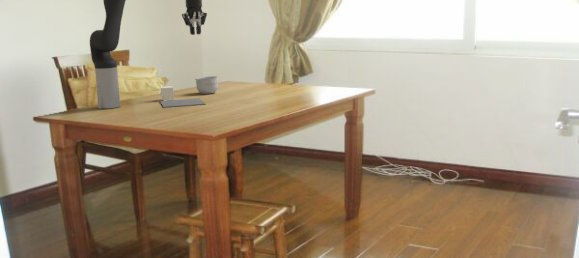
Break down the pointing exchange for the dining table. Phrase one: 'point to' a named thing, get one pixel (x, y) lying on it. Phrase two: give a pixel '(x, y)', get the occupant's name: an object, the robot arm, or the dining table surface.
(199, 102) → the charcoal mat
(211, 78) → the teacup
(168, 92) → the cream block
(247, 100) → the dining table surface
